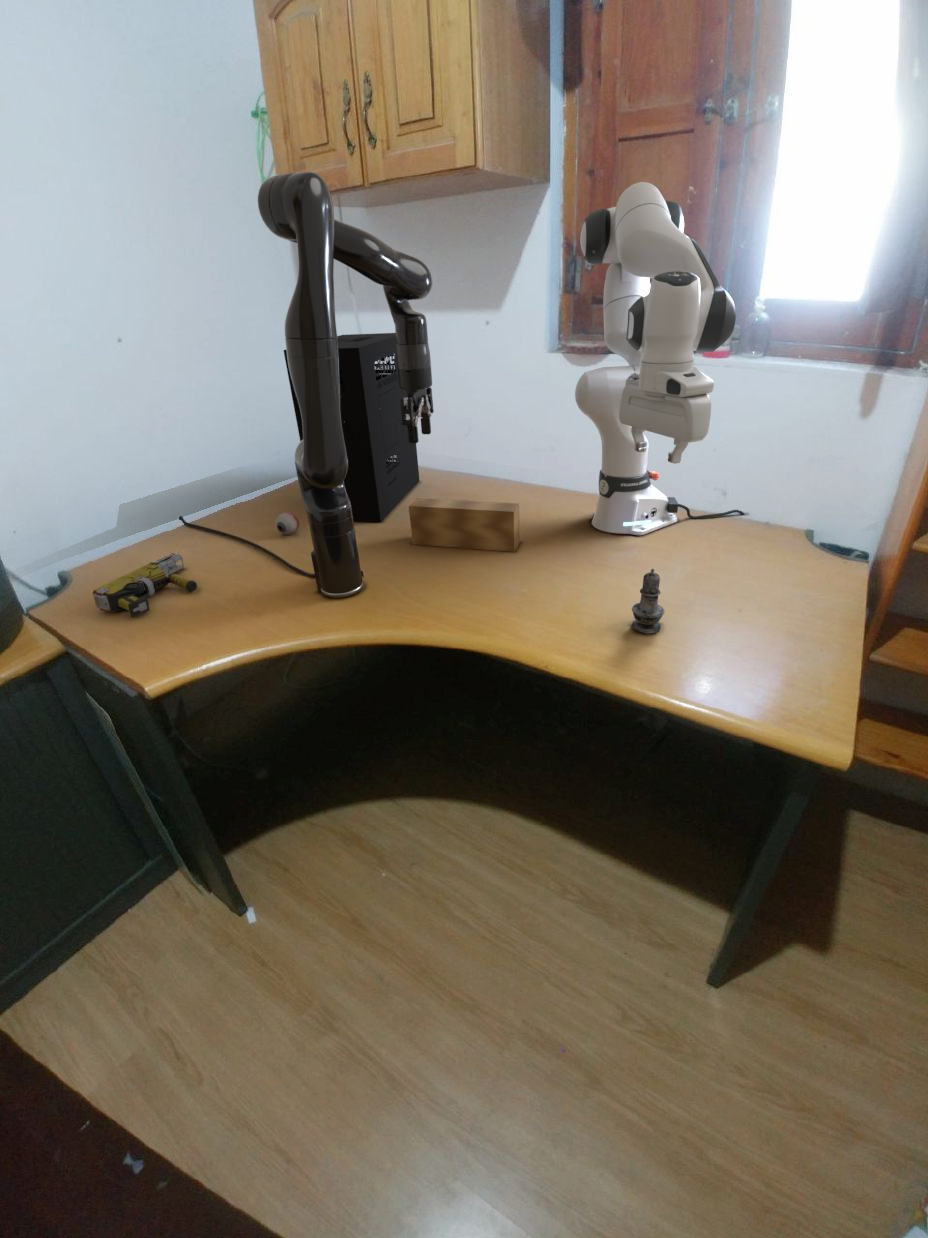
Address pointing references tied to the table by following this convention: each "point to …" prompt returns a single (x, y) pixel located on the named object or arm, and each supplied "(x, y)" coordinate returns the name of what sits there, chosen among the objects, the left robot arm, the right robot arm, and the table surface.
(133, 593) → the toy gun
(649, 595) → the grey chess piece
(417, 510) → the box
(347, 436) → the cardboard box
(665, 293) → the right robot arm
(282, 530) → the eyeball
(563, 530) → the table surface
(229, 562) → the table surface
